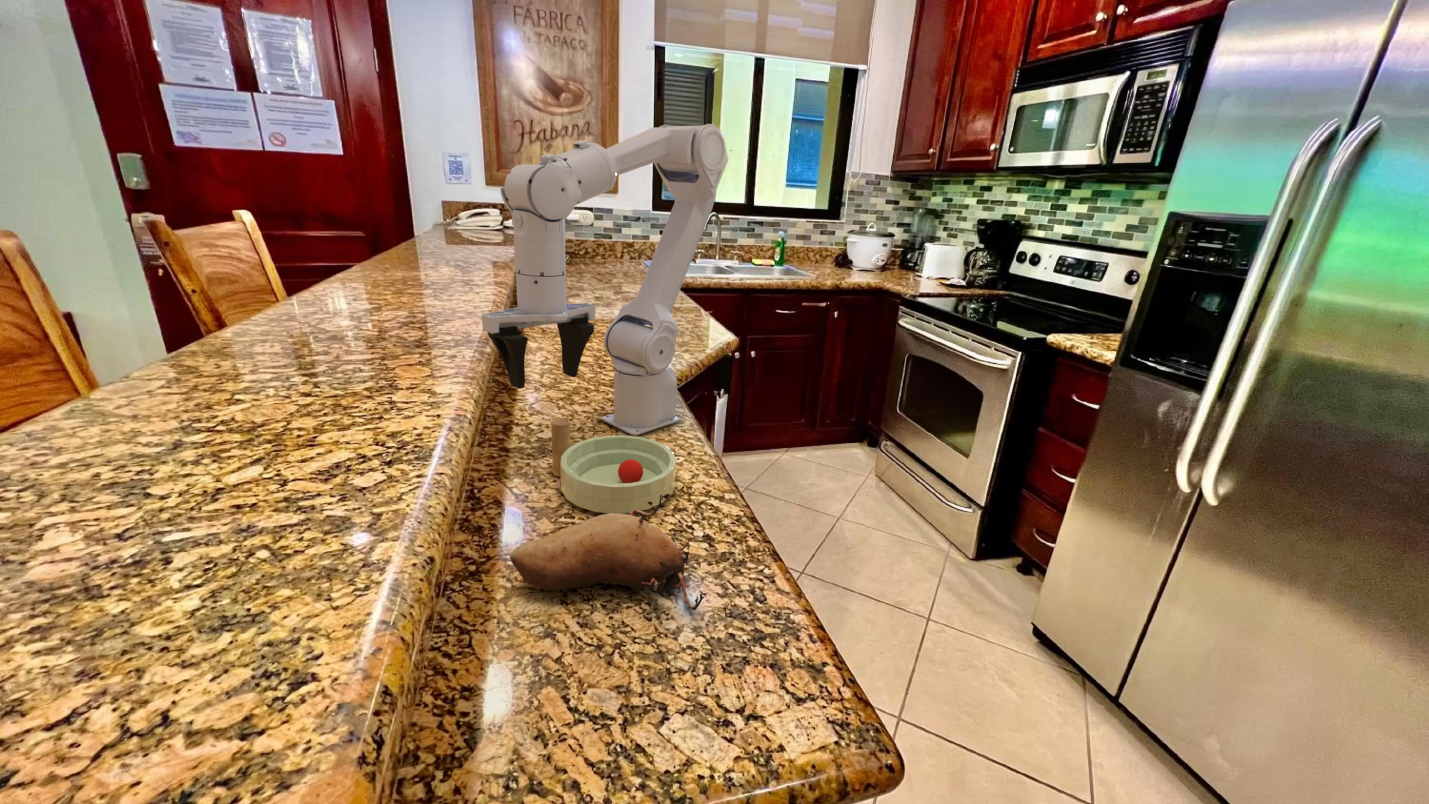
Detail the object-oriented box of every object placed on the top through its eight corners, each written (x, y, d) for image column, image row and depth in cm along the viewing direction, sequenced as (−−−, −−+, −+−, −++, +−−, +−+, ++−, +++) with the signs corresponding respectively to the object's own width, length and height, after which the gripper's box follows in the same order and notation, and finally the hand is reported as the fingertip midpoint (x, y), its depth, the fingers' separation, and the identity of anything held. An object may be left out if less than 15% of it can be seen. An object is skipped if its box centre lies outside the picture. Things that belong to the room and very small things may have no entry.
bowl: (625, 453, 75) (626, 426, 74) (696, 490, 67) (698, 461, 66) (538, 484, 66) (537, 454, 64) (609, 533, 58) (609, 499, 56)
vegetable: (496, 635, 40) (505, 494, 41) (510, 602, 50) (517, 491, 51) (709, 622, 44) (710, 495, 45) (681, 594, 54) (683, 491, 56)
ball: (650, 473, 67) (636, 453, 68) (645, 475, 64) (630, 454, 65) (630, 487, 68) (616, 467, 68) (624, 490, 65) (610, 469, 65)
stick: (574, 470, 70) (573, 419, 67) (565, 478, 68) (564, 426, 65) (558, 467, 70) (556, 416, 68) (549, 475, 68) (547, 423, 66)
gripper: (501, 281, 58) (508, 401, 63) (610, 274, 69) (609, 377, 73) (469, 272, 62) (478, 384, 67) (576, 267, 73) (578, 365, 78)
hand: (544, 380), depth 70 cm, fingers open, 7 cm apart
